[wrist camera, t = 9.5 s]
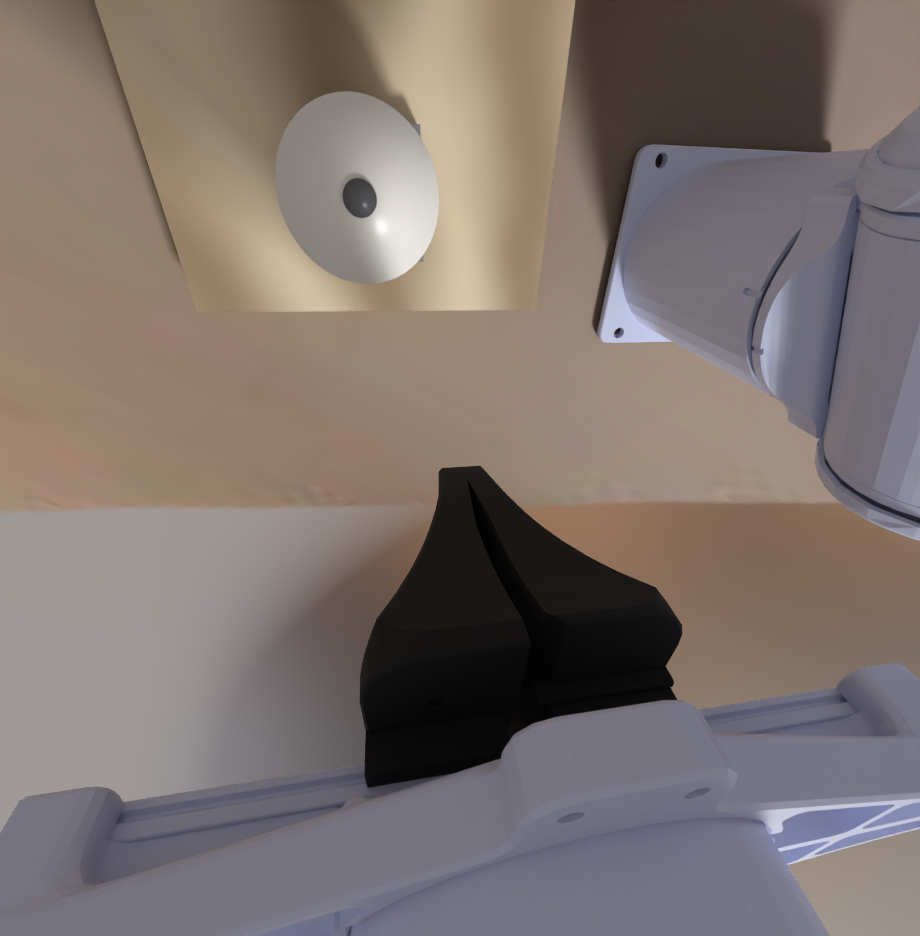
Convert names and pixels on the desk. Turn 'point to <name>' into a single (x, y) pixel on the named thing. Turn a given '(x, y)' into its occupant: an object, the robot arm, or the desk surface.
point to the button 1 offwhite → (357, 187)
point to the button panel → (357, 70)
